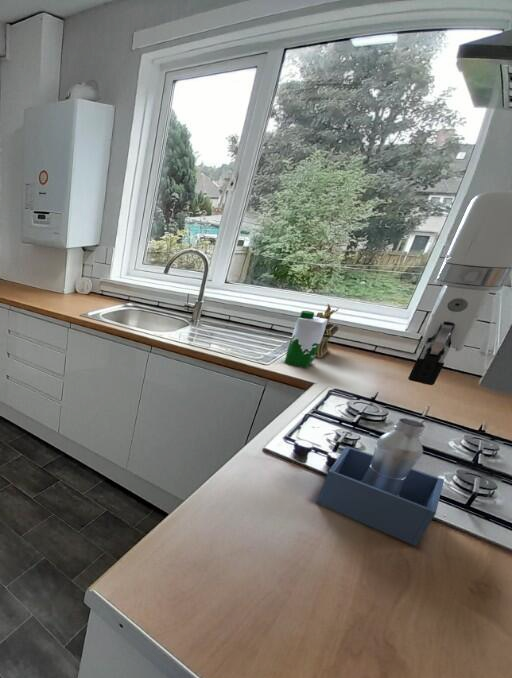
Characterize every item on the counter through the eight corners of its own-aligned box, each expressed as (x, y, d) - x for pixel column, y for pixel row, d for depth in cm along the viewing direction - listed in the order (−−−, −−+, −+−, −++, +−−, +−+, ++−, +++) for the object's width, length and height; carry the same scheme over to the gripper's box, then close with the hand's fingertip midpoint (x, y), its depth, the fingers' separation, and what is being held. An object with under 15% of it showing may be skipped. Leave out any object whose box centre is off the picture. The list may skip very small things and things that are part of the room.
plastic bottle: (395, 522, 80) (442, 435, 72) (351, 509, 84) (392, 425, 75) (388, 503, 85) (431, 420, 77) (347, 492, 89) (384, 411, 80)
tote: (426, 511, 84) (444, 479, 80) (416, 546, 75) (435, 512, 71) (333, 474, 94) (346, 445, 91) (315, 502, 85) (328, 471, 82)
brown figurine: (322, 359, 163) (340, 311, 155) (294, 353, 170) (310, 306, 161) (333, 349, 176) (350, 303, 168) (306, 343, 182) (321, 299, 174)
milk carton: (288, 357, 165) (304, 309, 157) (314, 363, 159) (332, 313, 151) (281, 362, 160) (297, 312, 152) (308, 369, 154) (326, 317, 145)
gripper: (507, 286, 57) (449, 396, 64) (505, 274, 68) (456, 369, 75) (433, 279, 62) (387, 381, 69) (442, 268, 73) (402, 358, 80)
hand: (423, 375), depth 72 cm, fingers open, 9 cm apart
